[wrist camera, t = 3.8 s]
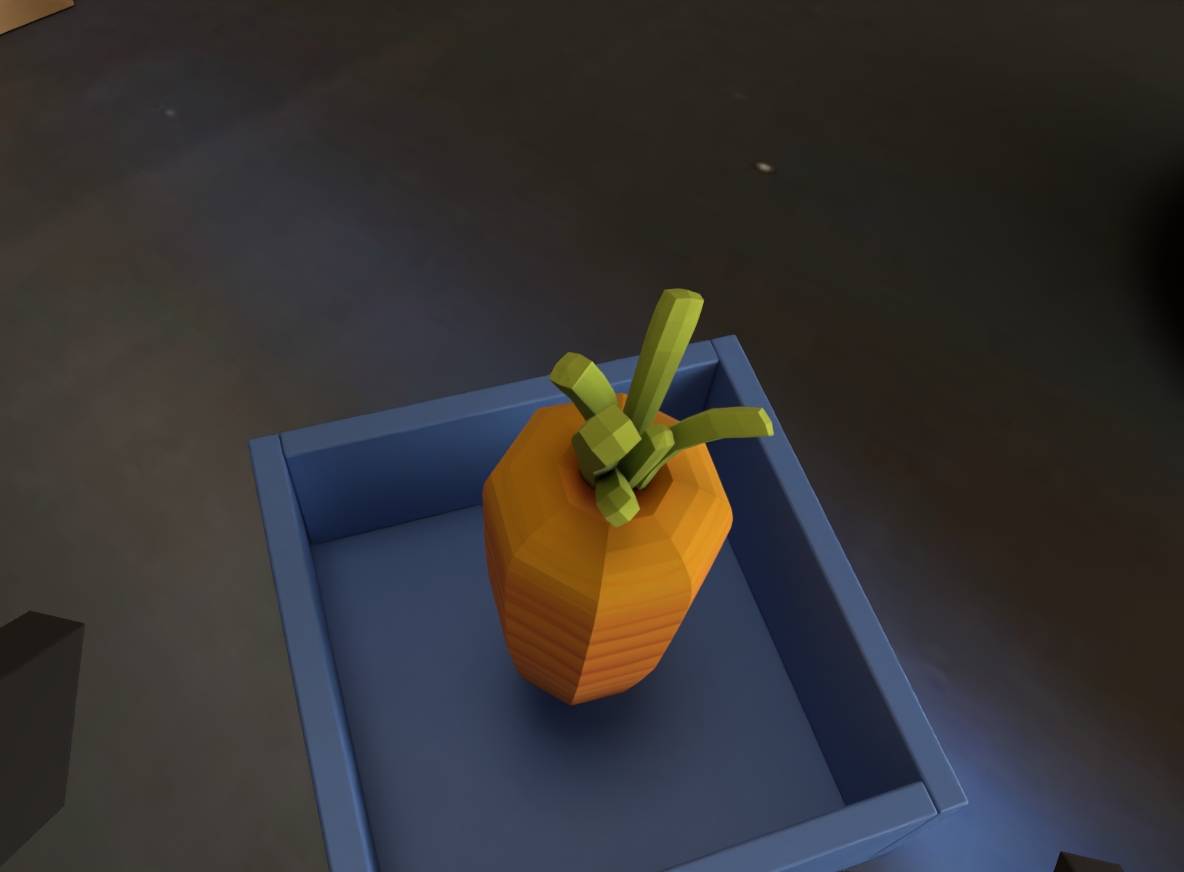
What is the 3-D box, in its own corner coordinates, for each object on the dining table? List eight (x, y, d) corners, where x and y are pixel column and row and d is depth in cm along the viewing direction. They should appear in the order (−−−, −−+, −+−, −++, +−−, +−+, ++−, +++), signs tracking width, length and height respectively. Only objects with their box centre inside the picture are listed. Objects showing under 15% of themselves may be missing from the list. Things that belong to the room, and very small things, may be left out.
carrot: (583, 565, 31) (657, 196, 18) (694, 697, 29) (861, 387, 16) (443, 662, 29) (419, 323, 16) (553, 810, 27) (620, 555, 14)
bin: (381, 1038, 24) (358, 1023, 20) (281, 538, 31) (246, 438, 26) (887, 853, 28) (970, 802, 23) (700, 437, 34) (735, 332, 30)
